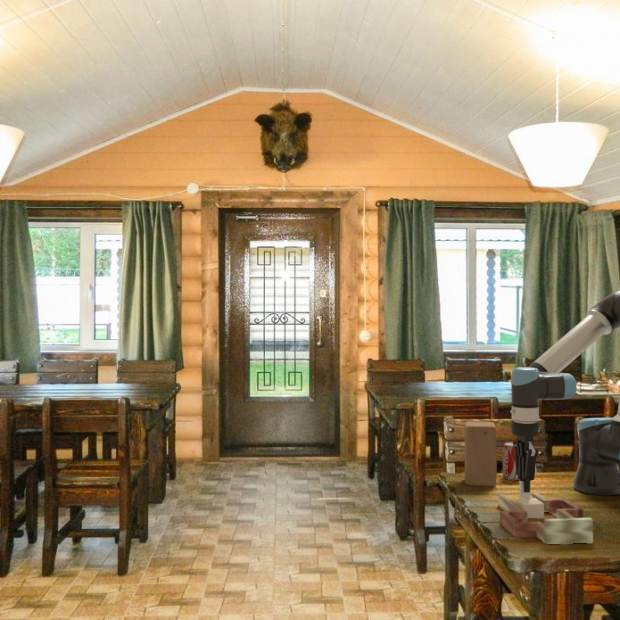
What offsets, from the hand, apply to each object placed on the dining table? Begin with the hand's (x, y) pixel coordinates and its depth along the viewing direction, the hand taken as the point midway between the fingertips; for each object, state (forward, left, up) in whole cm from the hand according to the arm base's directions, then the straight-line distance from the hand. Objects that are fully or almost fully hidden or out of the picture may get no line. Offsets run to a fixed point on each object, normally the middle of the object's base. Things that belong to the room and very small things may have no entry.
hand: (525, 502), depth 199 cm
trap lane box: (0, +11, -3) cm, 11 cm away
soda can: (-11, -36, -3) cm, 38 cm away
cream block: (0, +4, -3) cm, 5 cm away
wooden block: (+2, -32, -3) cm, 32 cm away
